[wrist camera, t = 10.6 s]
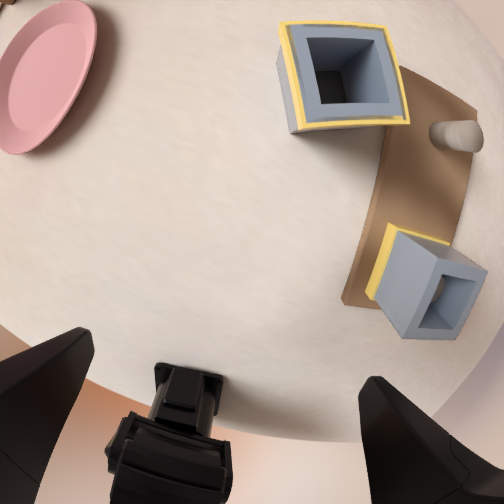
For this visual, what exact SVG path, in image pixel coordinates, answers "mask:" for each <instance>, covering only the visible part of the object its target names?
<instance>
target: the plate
mask: <svg viewBox="0 0 504 504" xmlns="http://www.w3.org/2000/svg"><path fill="white" fill-rule="evenodd" d="M96 40H97V23H96V18H95V15H94V13H93V11H92V9H91V8H90V7H89V6H88V5H87V4H86V3H84V2H81V1H78V0H65V1H61V2H58V3H55V4H53V5H51V6H49V7H47V8H45V9H43V10H42V11H40V12H39V13H38V14H36V15H35V16H34V17H33V18H31V19H30V20H29V21H28V22H27V23H26V24H25V25H24V26H23V27H22V28H21V29H20V30H19V32H18V33H17V34H16V35H15V37H14V38H13V39H12V41H11V42H10V44H9V45H8V47H7V48H6V50H5V52H4V53H3V55H2V57H1V59H0V149H2V150H3V151H4V152H6V153H9V154H13V155H18V154H24V153H27V152H29V151H31V150H33V149H35V148H36V147H38V146H39V145H40V144H41V143H43V142H44V141H45V140H46V139H47V138H48V137H49V136H50V135H51V134H52V133H53V132H54V131H55V129H56V128H57V127H58V126H59V124H60V123H61V122H62V120H63V119H64V117H65V116H66V114H67V113H68V111H69V110H70V108H71V106H72V105H73V103H74V101H75V99H76V98H77V96H78V94H79V92H80V90H81V88H82V86H83V83H84V81H85V79H86V76H87V74H88V71H89V68H90V65H91V62H92V59H93V55H94V51H95V47H96Z"/></svg>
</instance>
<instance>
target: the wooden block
mask: <svg viewBox="0 0 504 504" xmlns="http://www.w3.org/2000/svg"><path fill="white" fill-rule="evenodd" d="M14 1H15V0H0V2H2V3H5V4H8V5H11V4H13V2H14Z"/></svg>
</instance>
